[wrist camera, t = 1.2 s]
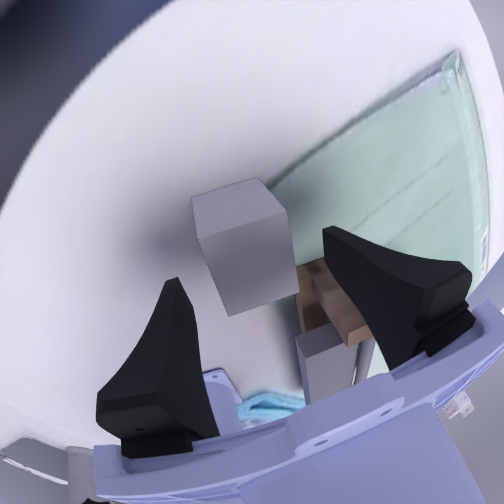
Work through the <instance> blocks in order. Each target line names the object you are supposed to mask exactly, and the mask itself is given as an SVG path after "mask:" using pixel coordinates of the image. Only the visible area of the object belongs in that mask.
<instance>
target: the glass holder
mask: <svg viewBox="0 0 504 504" xmlns="http://www.w3.org/2000/svg"><path fill="white" fill-rule="evenodd" d="M66 451H67V453H68V488H69V503H70V504H110V503H109V502H111V503H112V504H115V503H114V502H112V501H110V499H106V498H102V497H98V496H97V495H96V490H95V474H94V450H92V449H88V448H83V447H75V446H70V447H67V448H66Z"/></svg>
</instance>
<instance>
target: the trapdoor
mask: <svg viewBox="0 0 504 504" xmlns="http://www.w3.org/2000/svg"><path fill="white" fill-rule="evenodd" d="M295 341H296V347H297V353H298V359H299V365H300V371H301V377H302V383H303V389H304V396H305V402H306V406H307V405H309V404H311V403H314V402H316V401H319V400H321V399H324V398H326V397H328V396H331V395H333V394H335V393H338V392H340V391H342V390H344V389H347V388H349V387H351V385H352V380H353V374H354V369H355V363H356V356H357V350H358V343H357V344H355V345H353V346H351V347H349V348H347V347H346V345H345V343H344V342H343V340H342V338H341V337H340V335H339V334H338V332H337V330H336V329H335V327H334V325H333V324H332V322H331V323H328V324H326V325H323V326H321V327H318V328H316V329H313V330H311V331H308V332H306V333H303V334H300V335H298V336H295ZM387 372H389V369H388V367H387V364H386V362H385V359H384V357H383V355H382V353H381V351H380V349H379V346H378V344H377V342H376V340H375V338H374V336H372V337H370V338H368V339H366V340H364V341H362V342H361V348H360V354H359V360H358V365H357V371H356V376H355V381H354V385H355V384H357V383H359V382H361V381H364V380H366V379H368V378H370V377H372V376H375V375H377V374H380V373H387Z"/></svg>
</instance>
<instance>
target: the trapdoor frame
mask: <svg viewBox="0 0 504 504" xmlns="http://www.w3.org/2000/svg"><path fill="white" fill-rule="evenodd" d="M296 272H297V279H298V286H299V293H296V294H295V298H296V305H297V311H298V318H299V325H300V332H301V334H303V333H306V332H308V331H311V330H313V329H316V328H318V327H321V326H323V325H326V324H327V322H326V314H327V316H328V317H329V319H330V321H331V322H332V324H333V325H334V327H335V329H336V330H337V332H338V334H339V335H340V337H341V338H342V340H343V342H344V343H345V345H346V347H347V348H349V347H351V346H353V345H355V344H357V343H360V342H362V341H364V340H366V339H368V338H370V337H372V336H373V335H372V333H371V331H370V329H369V327H368V325H367V323H366V322H365V320H364V318H363V317H362V315H361V313H360V312H359V310H358V309H357V307H356V306H355V305H354V303H353V302H352V301H351V299H350V298H349V297H348V296H347V294H346V293H345V292H344V290H343V289H342V288H341V286H340V285H339V284H338V283H337V281H336V280H335V279H334V277H333V275H332V274H331V272H330V270H329V269H328V267H327V265H326V263H325V259H324V257H323V258H320V259H317V260H315V261H312V262H309V263H306V264H303V265H301V266H298V267H296Z"/></svg>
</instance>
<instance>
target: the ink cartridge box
mask: <svg viewBox="0 0 504 504" xmlns="http://www.w3.org/2000/svg"><path fill="white" fill-rule="evenodd" d="M442 408H443V409H444V411H445V413H446V414H447V416H448V418H449V419H450V418H452V417H453V416H454V415H455V414H457V413H458V412H459V411H460V413H461V415H462V417H463V418H464V417H465V416H467V415H468V414H469V413H470V412H471V411H472V410H474V407H473V405H472V403H471V401H470V399H469V397H468V396H467V394H466V393H465V392H464V390H463V391H462V392H461V393H460V394H458V395H457V396H456V397H455V398H454V399H452V400H451V401H450V402H449V403H447V404H446V405H445V406H444V407H442ZM468 408H469V410H468V412H465V410H466V409H468Z"/></svg>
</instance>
